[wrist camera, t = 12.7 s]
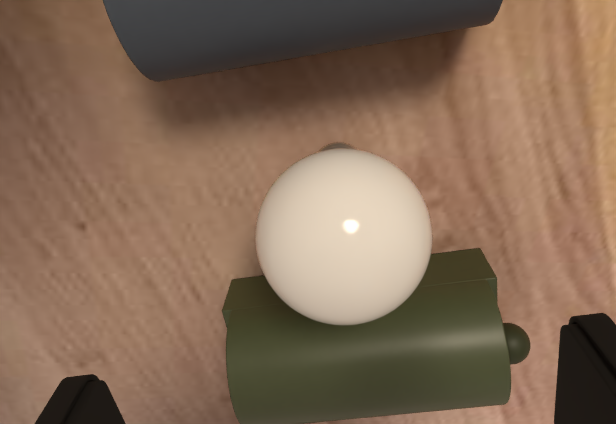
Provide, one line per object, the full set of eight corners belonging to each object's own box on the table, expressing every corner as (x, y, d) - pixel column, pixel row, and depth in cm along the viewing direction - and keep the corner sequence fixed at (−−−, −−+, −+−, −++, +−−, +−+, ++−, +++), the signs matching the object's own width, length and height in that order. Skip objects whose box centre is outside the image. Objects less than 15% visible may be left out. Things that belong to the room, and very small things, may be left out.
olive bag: (231, 279, 28) (205, 359, 22) (502, 244, 27) (553, 320, 21) (256, 366, 31) (239, 459, 25) (503, 340, 29) (548, 431, 23)
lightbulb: (426, 171, 25) (491, 297, 15) (329, 241, 27) (331, 393, 17) (348, 73, 23) (364, 144, 13) (250, 156, 25) (199, 272, 15)
